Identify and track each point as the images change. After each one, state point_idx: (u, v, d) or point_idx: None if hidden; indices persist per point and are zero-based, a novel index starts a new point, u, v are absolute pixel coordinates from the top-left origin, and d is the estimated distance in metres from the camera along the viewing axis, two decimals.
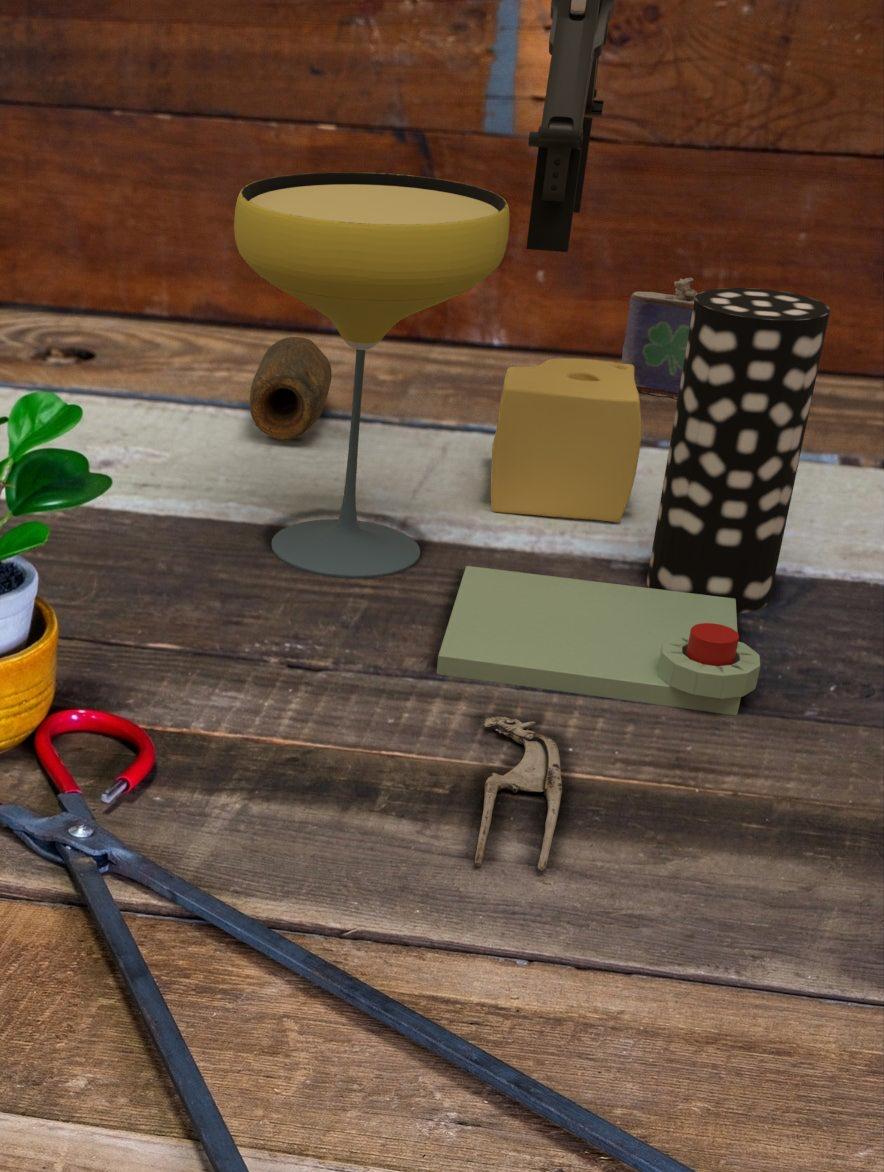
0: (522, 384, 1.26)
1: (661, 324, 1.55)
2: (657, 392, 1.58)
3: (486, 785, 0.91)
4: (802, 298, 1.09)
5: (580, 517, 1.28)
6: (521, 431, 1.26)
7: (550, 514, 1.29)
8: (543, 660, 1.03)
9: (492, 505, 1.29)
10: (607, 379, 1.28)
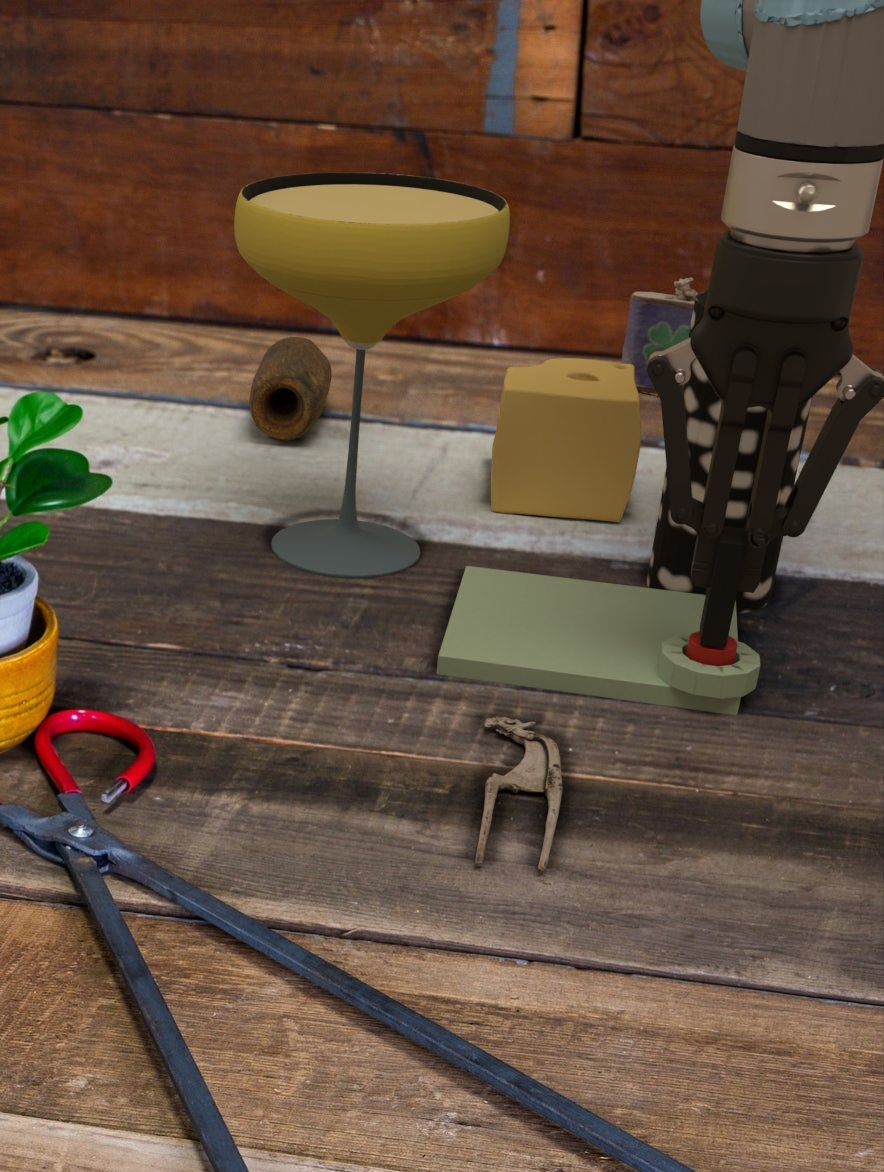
0: (522, 384, 1.26)
1: (661, 324, 1.55)
2: None
3: (486, 785, 0.91)
4: None
5: (580, 517, 1.28)
6: (521, 431, 1.26)
7: (550, 514, 1.29)
8: (543, 660, 1.03)
9: (492, 505, 1.29)
10: (607, 379, 1.28)
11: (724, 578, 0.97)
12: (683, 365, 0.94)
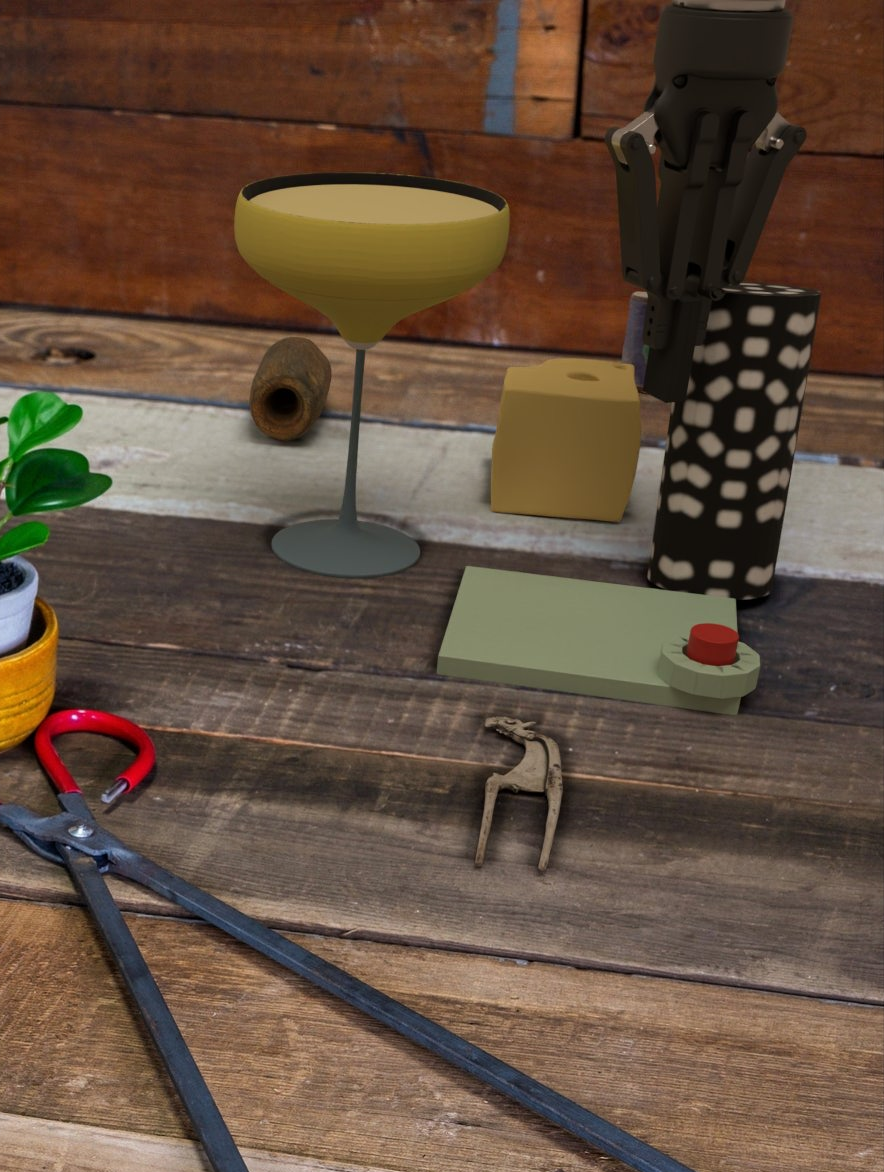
0: (522, 383, 1.26)
1: None
2: None
3: (487, 785, 0.91)
4: (793, 287, 1.11)
5: (580, 517, 1.28)
6: (521, 431, 1.26)
7: (550, 514, 1.29)
8: (543, 660, 1.03)
9: (492, 505, 1.29)
10: (607, 379, 1.28)
11: (685, 335, 1.06)
12: (648, 137, 1.00)
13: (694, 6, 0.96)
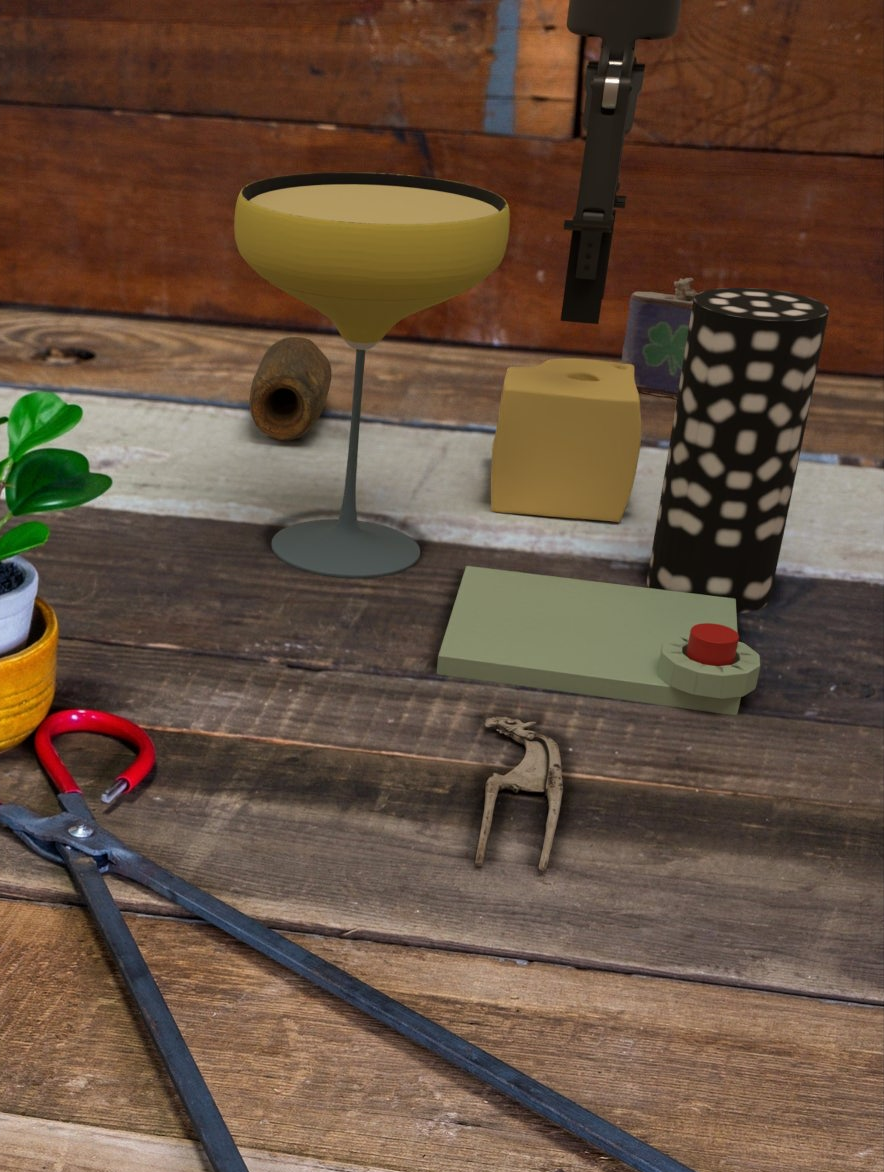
0: (522, 383, 1.26)
1: (661, 324, 1.55)
2: (657, 392, 1.58)
3: (487, 785, 0.91)
4: (801, 298, 1.09)
5: (580, 517, 1.28)
6: (521, 431, 1.26)
7: (550, 514, 1.29)
8: (543, 660, 1.03)
9: (492, 505, 1.29)
10: (607, 379, 1.28)
11: None
12: None
13: None
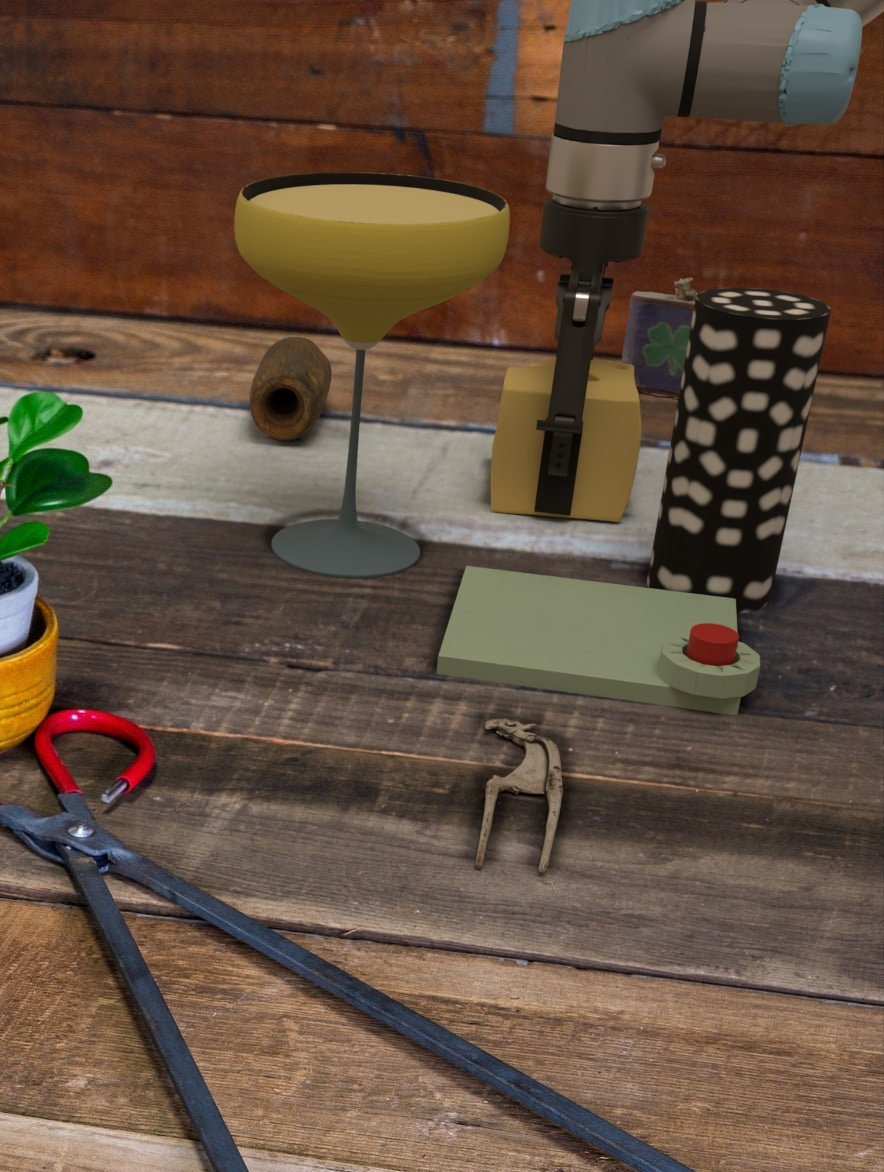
0: (521, 384, 1.26)
1: (661, 324, 1.55)
2: (657, 392, 1.58)
3: (487, 787, 0.91)
4: (803, 298, 1.09)
5: (580, 517, 1.28)
6: (521, 431, 1.26)
7: (550, 514, 1.29)
8: (543, 660, 1.03)
9: (492, 505, 1.29)
10: (607, 379, 1.28)
11: None
12: None
13: (609, 209, 1.19)
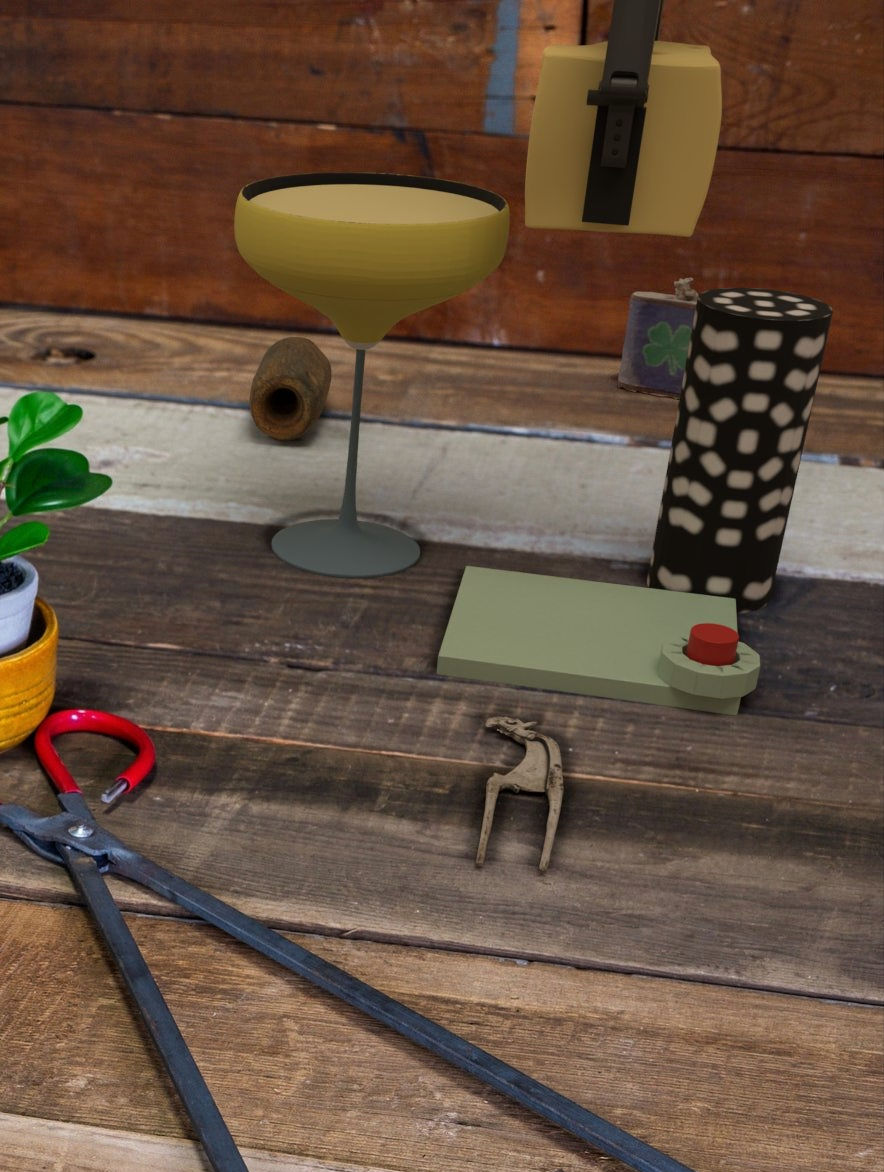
0: (567, 50, 0.97)
1: (661, 324, 1.55)
2: (657, 392, 1.58)
3: (487, 785, 0.91)
4: (805, 299, 1.09)
5: (640, 231, 1.00)
6: (566, 112, 0.98)
7: (601, 228, 1.00)
8: (543, 660, 1.03)
9: (527, 218, 1.01)
10: (677, 53, 1.00)
11: (640, 147, 0.97)
12: None
13: None
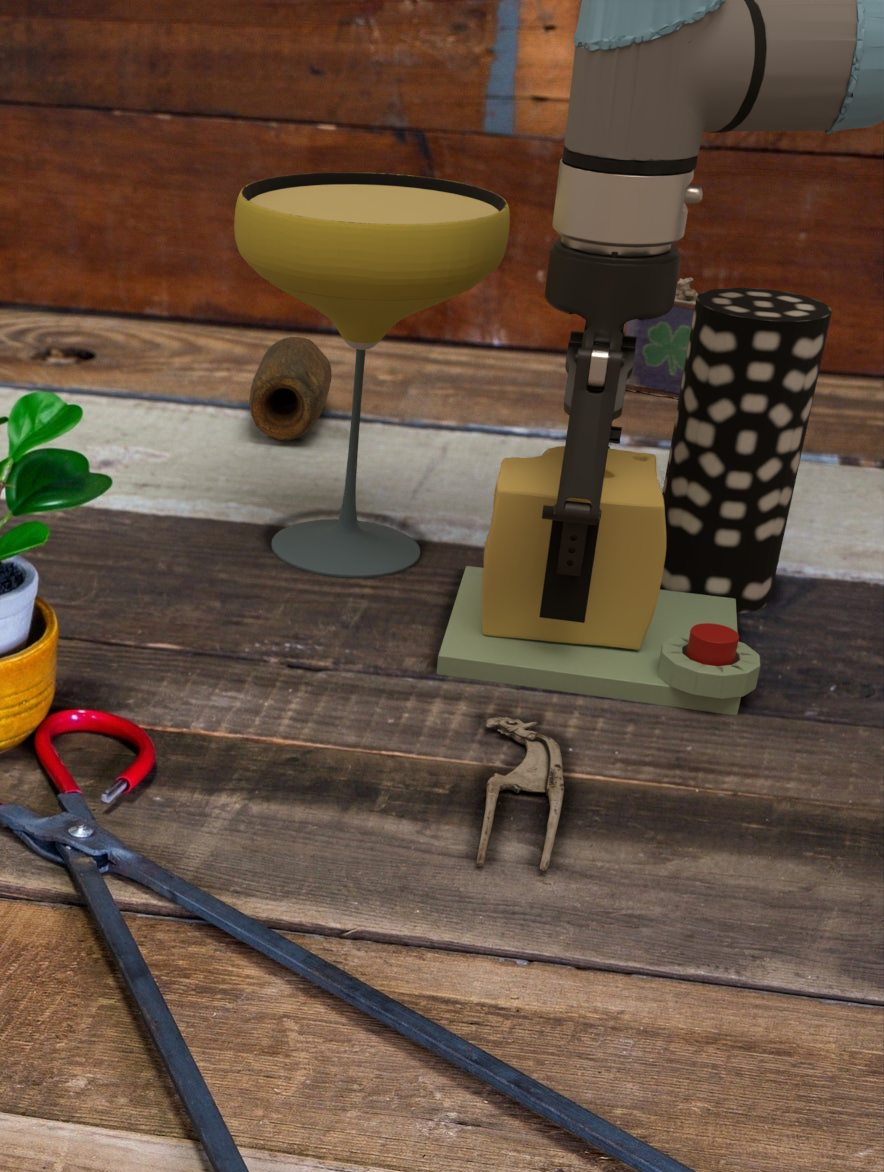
0: (519, 483, 1.02)
1: (661, 324, 1.55)
2: (657, 392, 1.58)
3: (488, 785, 0.91)
4: (805, 299, 1.09)
5: (591, 643, 1.05)
6: (519, 540, 1.03)
7: (554, 639, 1.05)
8: (543, 660, 1.03)
9: (483, 627, 1.06)
10: (624, 475, 1.05)
11: None
12: None
13: (632, 254, 0.95)
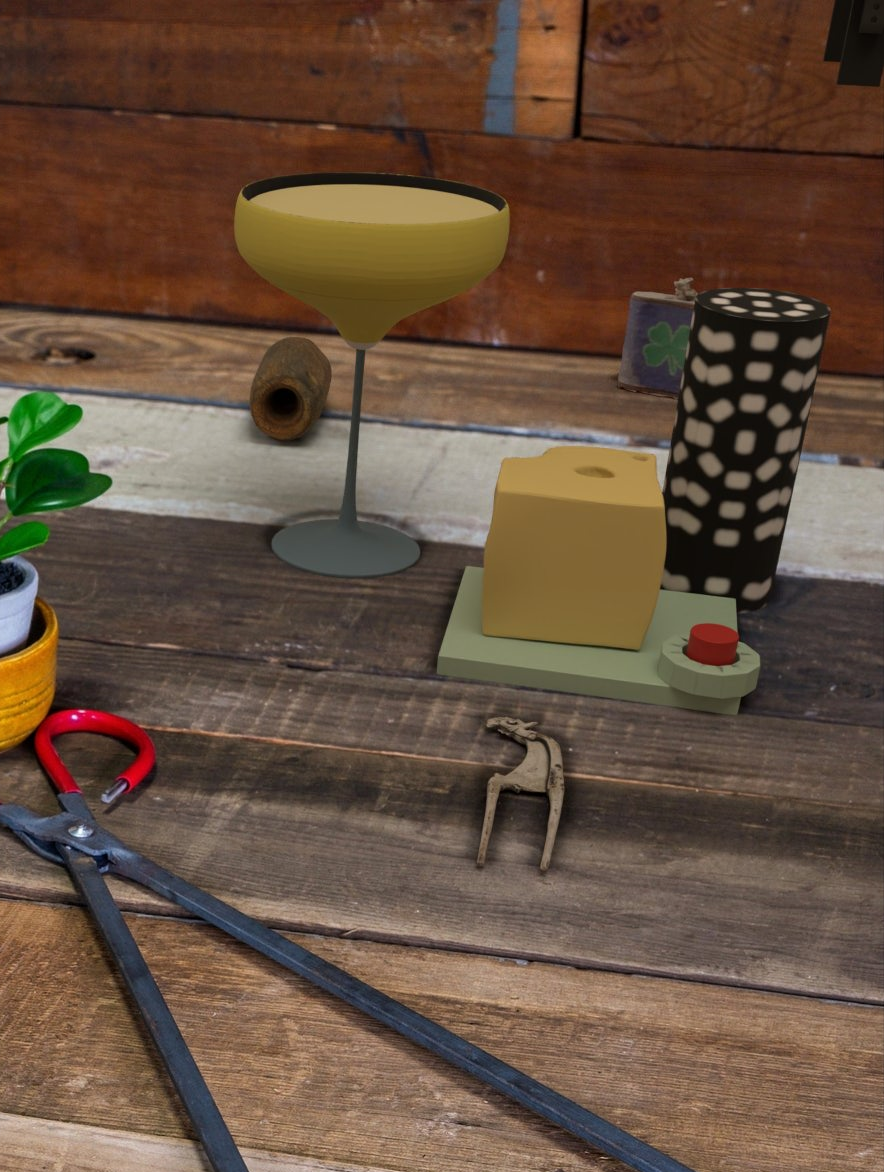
0: (519, 483, 1.02)
1: (661, 324, 1.55)
2: (657, 392, 1.58)
3: (488, 785, 0.91)
4: (804, 299, 1.09)
5: (591, 643, 1.05)
6: (519, 540, 1.03)
7: (554, 639, 1.05)
8: (543, 660, 1.03)
9: (483, 627, 1.06)
10: (624, 475, 1.05)
11: None
12: None
13: None
